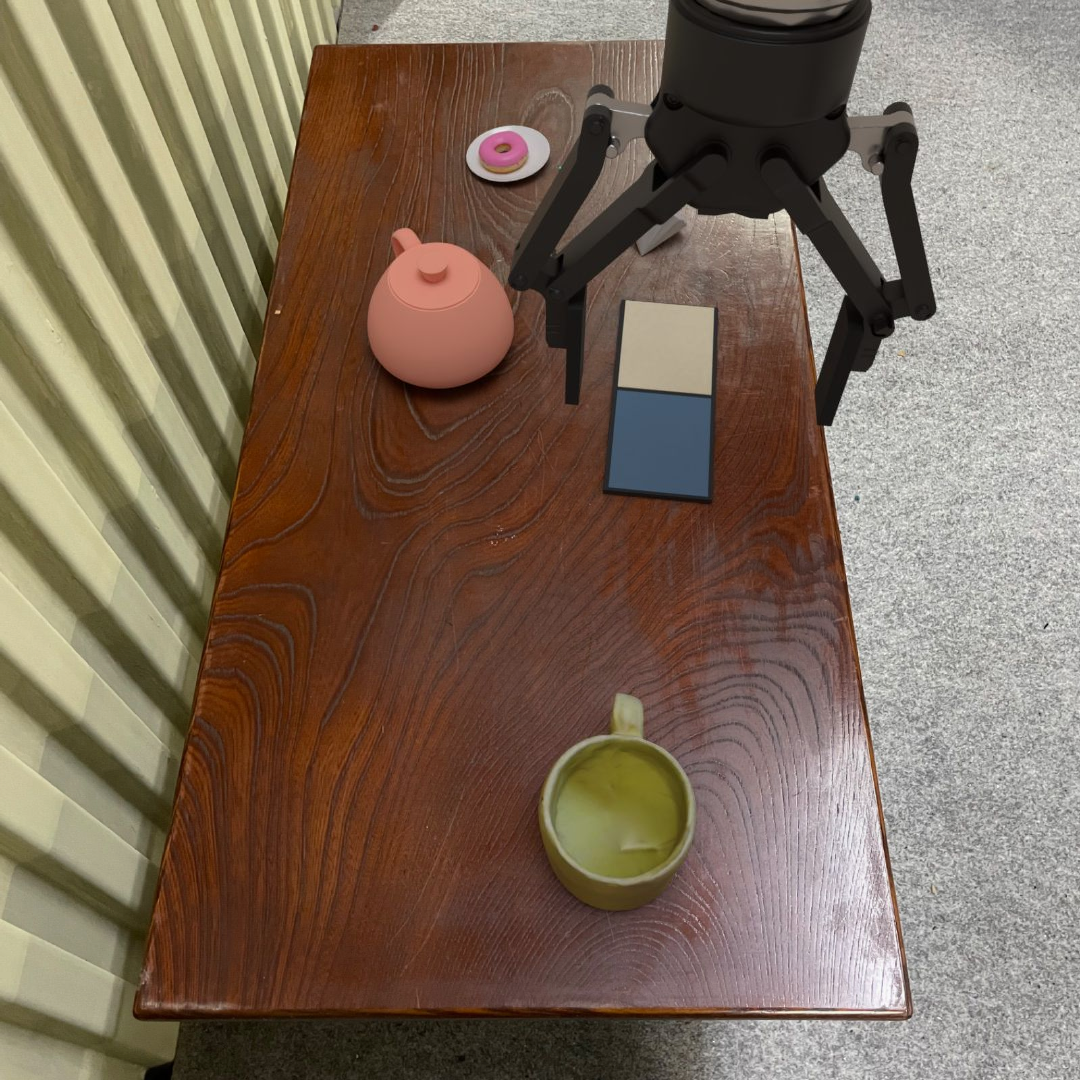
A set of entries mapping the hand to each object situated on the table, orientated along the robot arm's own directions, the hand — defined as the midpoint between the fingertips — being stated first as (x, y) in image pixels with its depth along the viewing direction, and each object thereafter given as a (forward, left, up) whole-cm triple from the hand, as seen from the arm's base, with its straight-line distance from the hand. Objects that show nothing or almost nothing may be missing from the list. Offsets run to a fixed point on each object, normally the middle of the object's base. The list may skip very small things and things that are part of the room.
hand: (697, 398), depth 52 cm
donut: (+34, -32, -22) cm, 52 cm away
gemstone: (+18, -30, -22) cm, 42 cm away
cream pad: (+10, -19, -22) cm, 31 cm away
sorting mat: (+8, -15, -22) cm, 28 cm away
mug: (-7, +17, -22) cm, 29 cm away
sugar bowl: (+27, -9, -22) cm, 36 cm away
